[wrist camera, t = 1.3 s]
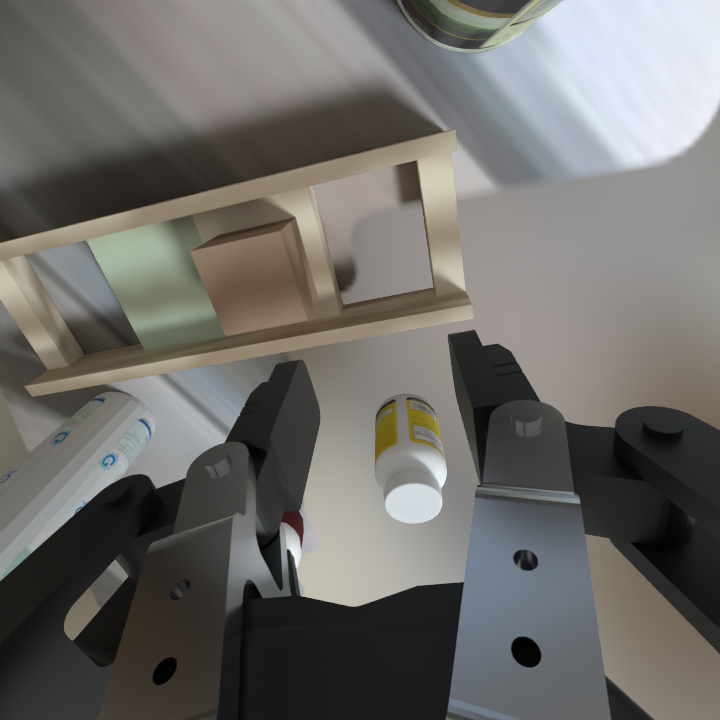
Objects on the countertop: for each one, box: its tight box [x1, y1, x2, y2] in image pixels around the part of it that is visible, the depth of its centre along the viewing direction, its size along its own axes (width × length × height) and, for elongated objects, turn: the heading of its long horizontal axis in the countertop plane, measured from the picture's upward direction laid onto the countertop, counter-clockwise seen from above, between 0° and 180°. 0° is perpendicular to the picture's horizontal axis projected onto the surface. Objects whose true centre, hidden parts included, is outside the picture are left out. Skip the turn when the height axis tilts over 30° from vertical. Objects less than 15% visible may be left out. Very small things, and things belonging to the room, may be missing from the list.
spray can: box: [0, 392, 155, 581], centre depth 29 cm, size 6×6×20 cm
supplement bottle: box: [375, 394, 447, 523], centre depth 32 cm, size 5×5×10 cm
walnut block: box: [190, 217, 318, 336], centre depth 26 cm, size 6×6×4 cm
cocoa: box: [281, 510, 304, 596], centre depth 38 cm, size 10×6×12 cm, turn 84°
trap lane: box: [0, 130, 473, 397], centre depth 28 cm, size 11×34×4 cm, turn 103°
